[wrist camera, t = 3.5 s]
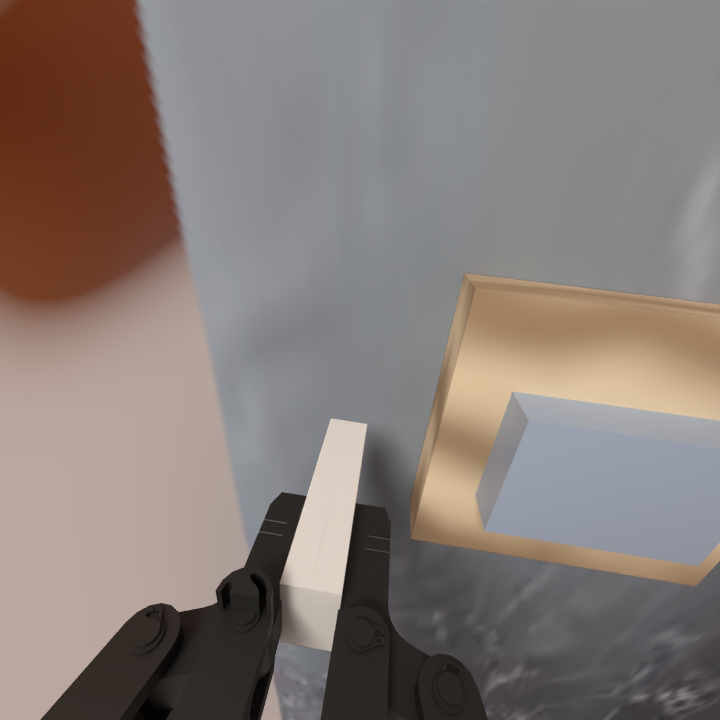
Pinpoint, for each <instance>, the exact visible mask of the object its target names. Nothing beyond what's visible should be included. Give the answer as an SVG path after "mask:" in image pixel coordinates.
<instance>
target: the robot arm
mask: <svg viewBox="0 0 720 720" xmlns="http://www.w3.org/2000/svg"><path fill="white" fill-rule="evenodd" d="M366 428H367V424H363V423H357V422H350V421H343V420H337V419H331V420H330V423H329V427H328V430H327V433H326V436H325V439H324V443H323V446H322V449H321V452H320V456H319V459H318V462H317V465H316V468H315V472H314V475H313V478H312V481H311V484H310V488H309V491H308V494H307V496H302V495H296V494H290V493H284V492H282V493H281V494H280V495H279V496H278V497H277V498H276V499H275V500H274V501H273V502H272V503H271V504H270V507H269V509H268V512H267V514H266V516H265V519H264V521H263V523H262V526H261V528H260V531H259V533H258V535H257V538H256V540H255V542H254V545H253V547H252V550H251V552H250V554H249V557H248V559H247V562H246V564H245V566H244V568H241V569H239V570H236V571H234V572H232V573H231V574H229V575H228V576H227V577H226V578H225V579H223V581H222V582H221V583H220V585H219V586H218V588H217V589H216V596H217V601H218V602H217V603H215V604H213V605H211V606H207V607H204V608H199V609H193V610H189V611H183V612H178V611H176V609H174V607H173V606H171V605H168V604H163V603H160V604H155V605H150V606H148V607H146V608H144V609H142V610H140V611H138V612H137V613H136V614H135V615H134V616H132V617H131V618H130V619H129V620H128V621H127V622H126V623H125V624H124V625H123V626H122V628H121V629H120V630H119V631H118V632H117V633H116V634H115V635H114V636H113V638H112V639H111V640H110V641H109V642H108V643H107V645H106V646H105V647H104V648H103V649H102V650H101V651H100V652H99V654H98V655H97V656H96V657H95V658H94V659H93V660H92V662H91V663H90V664H89V665H88V666H87V667H86V668H85V670H84V671H83V672H82V673H81V674H80V675H79V676H78V678H77V679H76V680H75V681H74V682H73V683H72V684H71V686H70V687H69V688H68V689H67V690H66V691H65V692H64V694H63V695H62V696H61V697H60V698H59V699H58V700H57V701H56V703H55V704H54V705H53V706H52V707H51V708H50V710H49V711H48V712H47V713H46V714H45V715H44V716H43V718H42V719H41V720H261V716H262V713H263V709H264V705H265V701H266V698H267V694H268V690H269V686H270V683H271V679H272V675H273V671H274V663H275V654H276V650H277V646H278V643H279V639H280V642H283V643H289V644H294V645H300V646H305V647H310V648H316V649H321V650H326V651H331V657H330V663H329V670H328V676H327V683H326V689H325V695H324V702H323V708H322V715H321V720H488V718H487V715H486V712H485V709H484V706H483V703H482V700H481V697H480V694H479V691H478V688H477V686H476V683H475V681H474V679H473V677H472V675H471V673H470V672H469V671H468V669H467V668H466V667H465V666H464V665H463V664H462V663H461V662H460V661H459V660H457V659H455V658H454V657H452V656H450V655H446V654H436V655H434V656H431V657H430V656H428V655H427V654H425V653H423V652H422V651H420V650H418V649H417V648H415V647H413V646H412V645H410V644H409V643H408V642H406V641H405V640H404V639H402V637H401V636H400V635H399V634H398V633H397V631H396V630H395V628H394V626H393V624H392V622H391V619H390V616H389V612H388V586H389V556H390V555H389V552H390V525H391V522H390V520H389V517H388V515H387V512H386V510H385V508H381V507H375V506H369V505H363V504H357V503H356V500H357V493H358V486H359V479H360V472H361V465H362V458H363V450H364V443H365V436H366Z"/></svg>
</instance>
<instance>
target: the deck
mask: <svg viewBox="0 0 720 720" xmlns="http://www.w3.org/2000/svg"><path fill="white" fill-rule="evenodd" d="M512 391H513V392H520V393H527V394H534V395H541V396H548V397H555V398H562V399H570V400H577V401H584V402H591V403H598V404H605V405H612V406H619V407H626V408H634V409H641V410H648V411H655V412H662V413H669V414H676V415H683V416H690V417H698V418H705V419H712V420H719V421H720V305H719V304H711V303H703V302H694V301H686V300H678V299H670V298H662V297H654V296H646V295H638V294H630V293H621V292H613V291H605V290H597V289H589V288H581V287H573V286H565V285H556V284H548V283H540V282H532V281H524V280H516V279H508V278H500V277H492V276H483V275H475V274H467V273H464V277H463V281H462V285H461V289H460V293H459V298H458V302H457V306H456V310H455V314H454V319H453V323H452V327H451V331H450V335H449V340H448V344H447V348H446V352H445V356H444V361H443V365H442V369H441V373H440V377H439V382H438V386H437V390H436V394H435V398H434V403H433V407H432V411H431V415H430V419H429V424H428V428H427V432H426V436H425V440H424V445H423V449H422V453H421V457H420V461H419V466H418V470H417V474H416V478H415V482H414V486H413V491H412V495H411V499H410V524H411V539H414V540H421V541H427V542H433V543H439V544H445V545H451V546H457V547H463V548H469V549H475V550H481V551H487V552H493V553H499V554H505V555H511V556H517V557H523V558H529V559H535V560H541V561H547V562H553V563H559V564H565V565H571V566H577V567H583V568H589V569H595V570H601V571H607V572H613V573H619V574H625V575H631V576H637V577H643V578H649V579H655V580H661V581H667V582H673V583H679V584H685V585H691V586H697V585H698V584H699V582H700V581H701V580H702V579H703V578H704V577H705V576H706V575H707V574H708V573H709V572H710V571H711V570H712V569H713V568H714V567H715V566H716V564H717V563H718V562H719V561H720V543H719V544H718V545H717V546H716V547H715V548H714V549H713V550H712V552H711V553H710V554H709V555H708V556H707V557H706V558H705V559H704V560H703V561H702V563H701V564H700V565H699V566H695V565H689V564H683V563H677V562H671V561H665V560H659V559H652V558H646V557H640V556H634V555H628V554H622V553H616V552H610V551H603V550H597V549H591V548H585V547H579V546H573V545H567V544H560V543H554V542H548V541H542V540H536V539H530V538H524V537H517V536H511V535H505V534H499V533H493V532H487V531H484V528H483V524H482V520H481V516H480V512H479V508H478V504H477V499H476V495H475V494H476V491H477V489H478V486H479V483H480V480H481V477H482V475H483V472H484V469H485V466H486V464H487V461H488V458H489V455H490V452H491V450H492V447H493V444H494V441H495V439H496V436H497V433H498V430H499V427H500V425H501V422H502V419H503V416H504V413H505V411H506V408H507V405H508V402H509V400H510V397H511V394H512Z"/></svg>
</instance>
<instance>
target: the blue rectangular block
mask: <svg viewBox="0 0 720 720" xmlns="http://www.w3.org/2000/svg"><path fill="white" fill-rule="evenodd" d="M475 495H476V499H477V504H478V508H479V512H480V516H481V520H482V524H483V528H484V531H487V532H493V533H499V534H505V535H511V536H517V537H524V538H530V539H536V540H542V541H548V542H554V543H560V544H567V545H573V546H579V547H585V548H591V549H597V550H603V551H610V552H616V553H622V554H628V555H634V556H640V557H646V558H652V559H659V560H665V561H671V562H677V563H683V564H689V565H695V566H699V565H700V564H701V563H702V561H703V560H704V559H705V558H706V557H707V556H708V555H709V554H710V553H711V552H712V550H713V549H714V548H715V547H716V546H717V545H718V544H719V543H720V421H719V420H712V419H705V418H698V417H690V416H683V415H676V414H669V413H662V412H655V411H648V410H641V409H634V408H626V407H619V406H612V405H605V404H598V403H591V402H584V401H577V400H570V399H562V398H555V397H548V396H541V395H534V394H527V393H520V392H513V391H512V394H511V397H510V400H509V402H508V405H507V408H506V411H505V413H504V416H503V419H502V422H501V425H500V427H499V430H498V433H497V436H496V439H495V441H494V444H493V447H492V450H491V452H490V455H489V458H488V461H487V464H486V466H485V469H484V472H483V475H482V477H481V480H480V483H479V486H478V489H477V491H476V494H475Z"/></svg>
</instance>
